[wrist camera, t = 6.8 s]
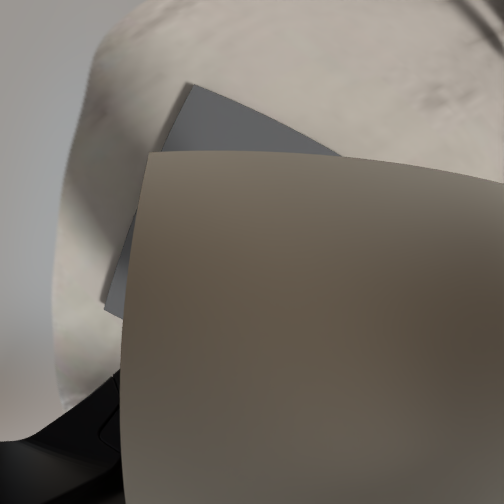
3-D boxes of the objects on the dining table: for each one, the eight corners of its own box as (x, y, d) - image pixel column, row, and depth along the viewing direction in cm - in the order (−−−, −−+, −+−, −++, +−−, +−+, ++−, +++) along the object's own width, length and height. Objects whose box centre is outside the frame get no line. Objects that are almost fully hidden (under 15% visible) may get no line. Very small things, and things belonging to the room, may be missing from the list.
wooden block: (321, 410, 14) (513, 510, 2) (219, 412, 13) (139, 576, 2) (322, 313, 15) (506, 184, 3) (221, 312, 15) (149, 151, 3)
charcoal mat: (301, 388, 23) (302, 393, 22) (107, 305, 21) (103, 309, 20) (417, 207, 18) (421, 208, 18) (196, 86, 16) (194, 84, 16)
